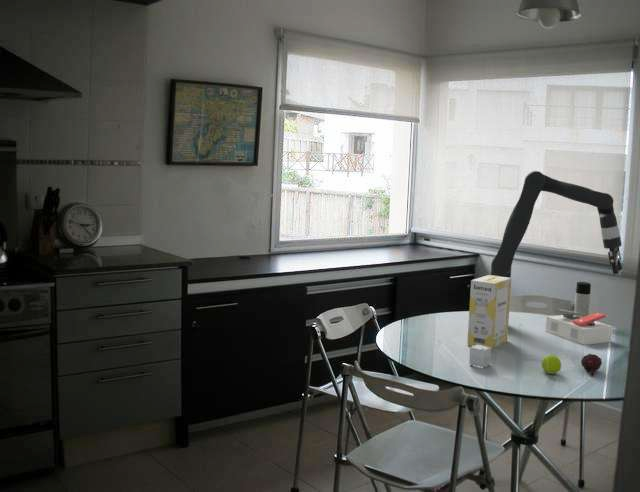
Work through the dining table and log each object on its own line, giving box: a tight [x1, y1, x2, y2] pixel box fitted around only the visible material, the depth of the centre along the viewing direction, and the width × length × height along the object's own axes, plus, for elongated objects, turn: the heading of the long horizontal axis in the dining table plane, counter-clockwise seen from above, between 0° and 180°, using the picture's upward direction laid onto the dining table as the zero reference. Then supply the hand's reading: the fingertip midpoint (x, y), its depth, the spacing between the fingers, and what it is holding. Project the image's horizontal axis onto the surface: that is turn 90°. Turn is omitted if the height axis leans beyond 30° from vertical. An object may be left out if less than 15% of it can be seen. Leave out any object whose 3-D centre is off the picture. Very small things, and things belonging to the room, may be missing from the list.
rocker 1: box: [553, 307, 585, 317], centre depth 331 cm, size 14×5×2 cm, turn 114°
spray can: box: [573, 281, 592, 317], centre depth 351 cm, size 7×7×20 cm
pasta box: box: [466, 274, 512, 350], centre depth 309 cm, size 18×10×28 cm, turn 144°
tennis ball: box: [541, 354, 562, 375], centre depth 271 cm, size 7×7×7 cm
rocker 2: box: [573, 311, 606, 326], centre depth 320 cm, size 14×5×2 cm, turn 113°
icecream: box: [580, 353, 603, 377], centre depth 275 cm, size 7×7×15 cm
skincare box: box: [468, 344, 492, 368], centre depth 278 cm, size 6×6×7 cm
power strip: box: [545, 313, 614, 346], centre depth 326 cm, size 16×24×8 cm
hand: (617, 271), depth 326 cm, fingers open, 8 cm apart
